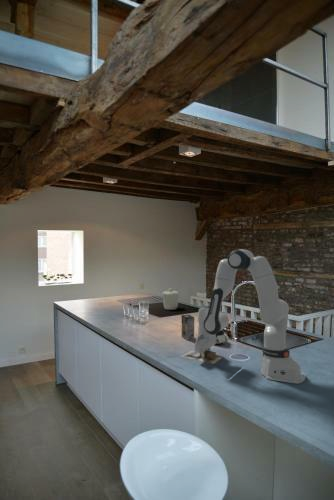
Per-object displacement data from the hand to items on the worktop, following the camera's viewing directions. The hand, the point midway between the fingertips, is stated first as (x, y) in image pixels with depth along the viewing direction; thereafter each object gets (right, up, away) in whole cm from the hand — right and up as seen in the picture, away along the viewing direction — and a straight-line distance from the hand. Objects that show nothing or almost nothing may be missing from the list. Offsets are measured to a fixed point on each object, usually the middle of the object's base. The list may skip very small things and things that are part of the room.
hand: (205, 355), depth 205 cm
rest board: (-2, -2, +1) cm, 3 cm away
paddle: (-2, -1, +2) cm, 3 cm away
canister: (-19, +3, +145) cm, 146 cm away
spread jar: (+13, -1, +31) cm, 34 cm away
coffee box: (-8, -1, +43) cm, 44 cm away
